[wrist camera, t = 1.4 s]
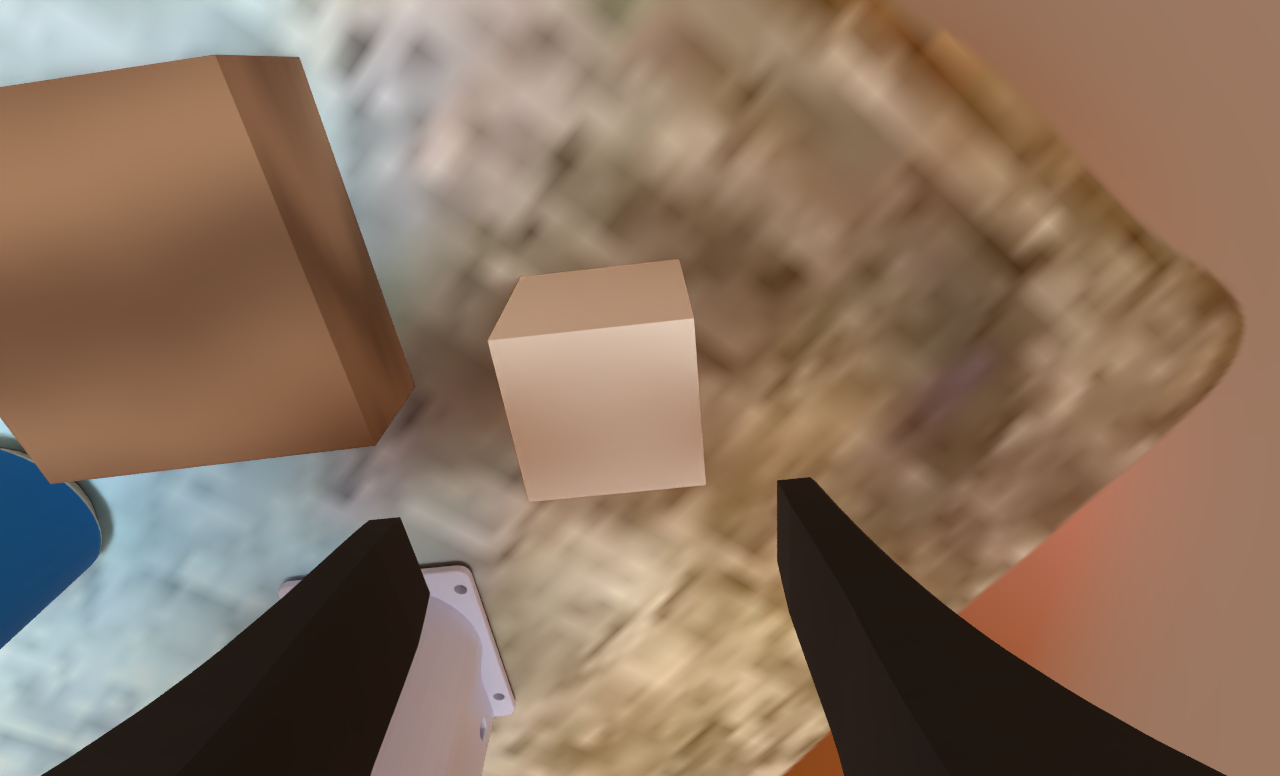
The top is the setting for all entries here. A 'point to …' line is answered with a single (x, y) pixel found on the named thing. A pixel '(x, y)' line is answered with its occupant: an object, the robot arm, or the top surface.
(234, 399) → the walnut box
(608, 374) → the cube
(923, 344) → the top surface
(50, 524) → the beverage can
